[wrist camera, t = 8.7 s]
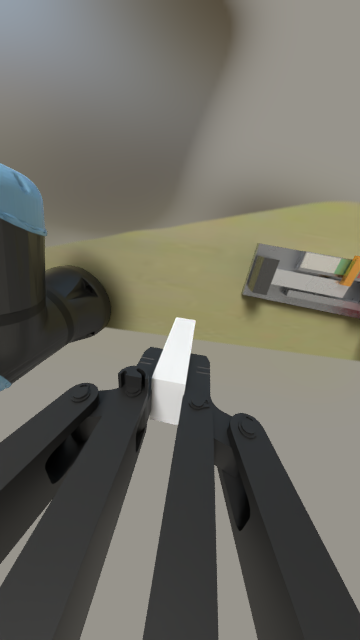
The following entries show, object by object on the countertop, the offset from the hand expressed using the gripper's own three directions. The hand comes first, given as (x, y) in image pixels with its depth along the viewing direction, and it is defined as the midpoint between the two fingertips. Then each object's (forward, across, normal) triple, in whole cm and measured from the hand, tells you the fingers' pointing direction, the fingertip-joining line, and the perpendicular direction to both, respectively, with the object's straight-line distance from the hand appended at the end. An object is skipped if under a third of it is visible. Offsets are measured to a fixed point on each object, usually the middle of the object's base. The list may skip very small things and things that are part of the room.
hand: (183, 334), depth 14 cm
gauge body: (+19, +18, +3) cm, 26 cm away
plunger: (+18, +15, +4) cm, 23 cm away
